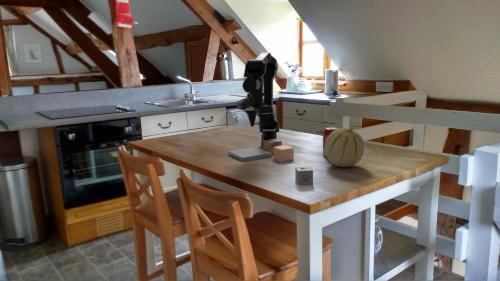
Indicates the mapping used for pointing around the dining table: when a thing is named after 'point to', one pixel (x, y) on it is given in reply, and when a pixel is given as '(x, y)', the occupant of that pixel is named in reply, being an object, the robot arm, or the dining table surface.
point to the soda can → (325, 135)
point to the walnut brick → (271, 144)
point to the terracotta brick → (283, 153)
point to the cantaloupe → (344, 147)
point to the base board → (249, 153)
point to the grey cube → (304, 175)
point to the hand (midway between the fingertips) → (257, 128)
